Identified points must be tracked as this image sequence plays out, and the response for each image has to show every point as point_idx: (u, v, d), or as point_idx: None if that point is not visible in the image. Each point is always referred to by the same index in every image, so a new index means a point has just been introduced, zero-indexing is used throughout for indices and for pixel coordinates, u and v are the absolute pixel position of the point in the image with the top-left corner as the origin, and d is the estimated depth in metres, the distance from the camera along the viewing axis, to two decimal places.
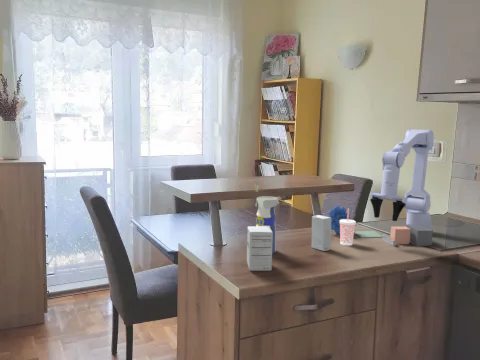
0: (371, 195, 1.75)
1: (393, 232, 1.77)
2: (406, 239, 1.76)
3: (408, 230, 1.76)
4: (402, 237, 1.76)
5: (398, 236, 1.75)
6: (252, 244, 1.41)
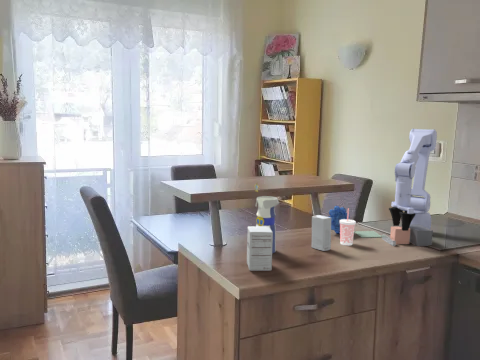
0: (392, 204, 1.82)
1: (393, 232, 1.77)
2: (406, 239, 1.76)
3: (408, 230, 1.76)
4: (402, 237, 1.76)
5: (398, 236, 1.75)
6: (252, 244, 1.41)
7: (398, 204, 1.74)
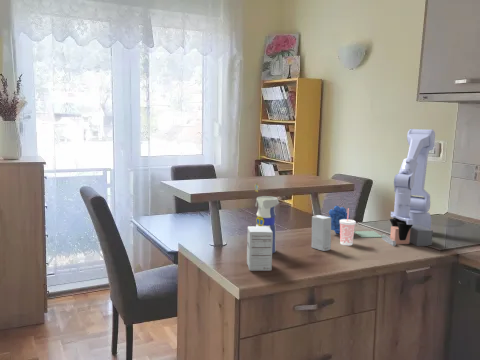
0: (391, 214, 1.83)
1: (393, 232, 1.77)
2: (406, 239, 1.76)
3: None
4: None
5: (398, 236, 1.75)
6: (252, 244, 1.40)
7: (397, 215, 1.75)
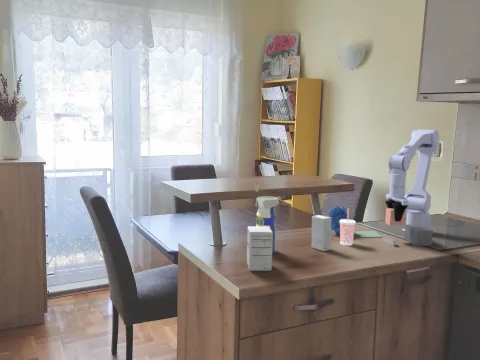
0: (386, 196, 1.84)
1: (388, 213, 1.78)
2: (401, 221, 1.77)
3: None
4: None
5: (393, 218, 1.76)
6: (252, 244, 1.40)
7: (393, 196, 1.76)
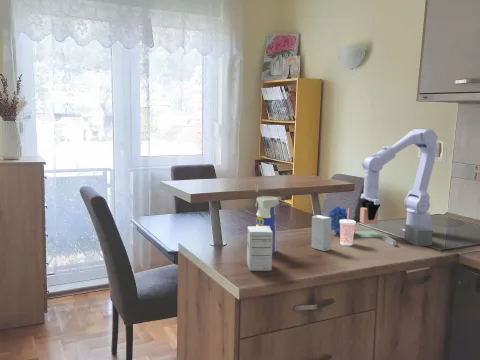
0: (361, 196, 1.93)
1: (362, 212, 1.87)
2: (374, 219, 1.86)
3: None
4: None
5: (366, 216, 1.86)
6: (252, 244, 1.41)
7: (366, 196, 1.85)
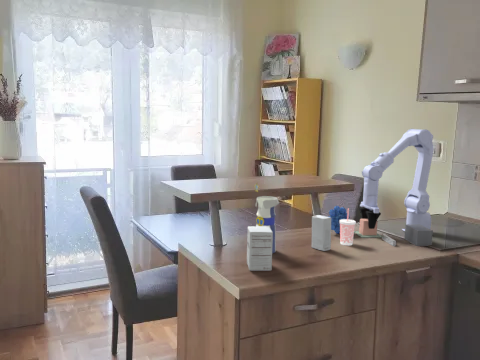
0: (361, 204, 1.94)
1: (361, 224, 1.87)
2: (373, 231, 1.87)
3: None
4: (369, 229, 1.86)
5: (366, 228, 1.86)
6: (252, 244, 1.41)
7: (366, 204, 1.85)
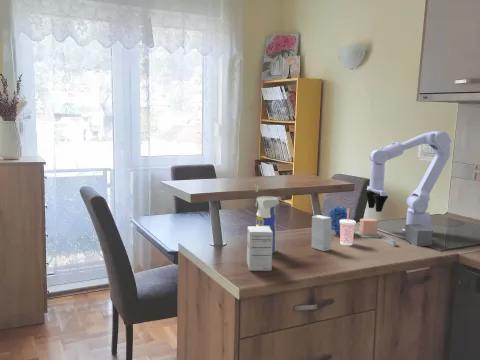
0: None
1: (361, 224, 1.87)
2: (373, 231, 1.87)
3: (375, 222, 1.86)
4: (369, 229, 1.86)
5: (366, 228, 1.86)
6: (252, 244, 1.41)
7: (372, 187, 1.91)
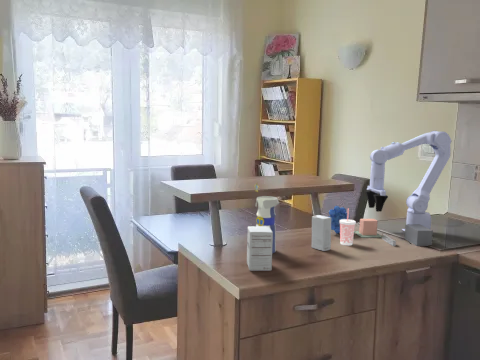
0: (368, 188, 1.99)
1: (361, 224, 1.87)
2: (373, 231, 1.87)
3: (375, 222, 1.86)
4: (369, 229, 1.86)
5: (366, 228, 1.86)
6: (252, 244, 1.40)
7: (372, 187, 1.91)
